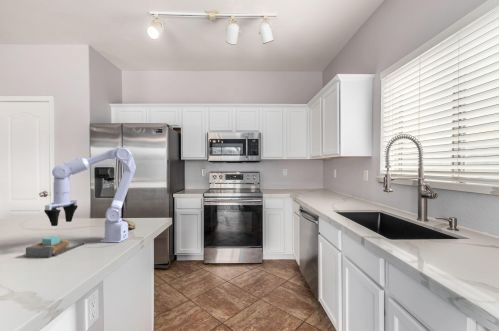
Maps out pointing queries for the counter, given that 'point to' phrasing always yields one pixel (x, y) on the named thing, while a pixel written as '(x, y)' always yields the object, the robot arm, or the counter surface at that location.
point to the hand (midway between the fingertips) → (61, 223)
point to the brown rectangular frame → (56, 246)
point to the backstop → (47, 251)
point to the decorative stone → (130, 224)
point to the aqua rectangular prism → (50, 240)
